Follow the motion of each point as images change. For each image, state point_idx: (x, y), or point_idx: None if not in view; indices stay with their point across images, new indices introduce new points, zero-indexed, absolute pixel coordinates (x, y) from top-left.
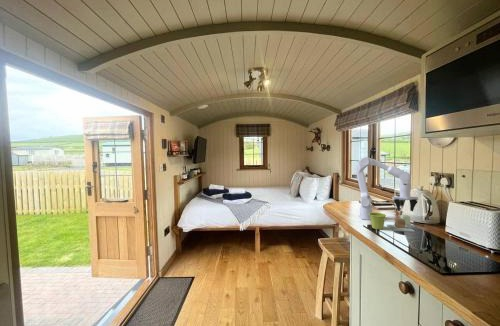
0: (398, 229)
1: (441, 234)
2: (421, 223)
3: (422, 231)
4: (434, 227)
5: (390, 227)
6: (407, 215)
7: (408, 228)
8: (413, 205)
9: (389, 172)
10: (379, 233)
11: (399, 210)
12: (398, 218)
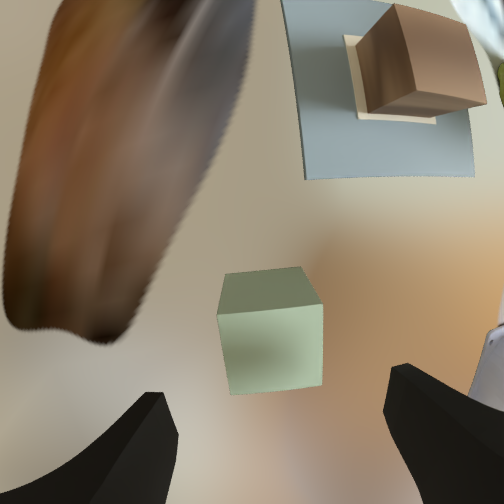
0: None
1: (84, 8)
2: (107, 330)
3: (198, 25)
4: (40, 210)
5: None
6: (231, 382)
7: (319, 53)
8: (91, 477)
9: None
10: (501, 3)
11: (407, 368)
12: (455, 89)
